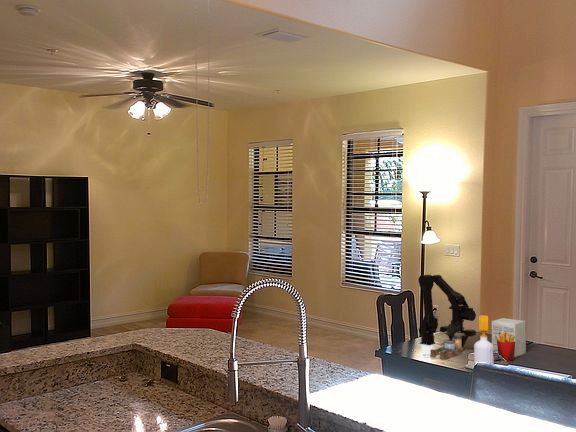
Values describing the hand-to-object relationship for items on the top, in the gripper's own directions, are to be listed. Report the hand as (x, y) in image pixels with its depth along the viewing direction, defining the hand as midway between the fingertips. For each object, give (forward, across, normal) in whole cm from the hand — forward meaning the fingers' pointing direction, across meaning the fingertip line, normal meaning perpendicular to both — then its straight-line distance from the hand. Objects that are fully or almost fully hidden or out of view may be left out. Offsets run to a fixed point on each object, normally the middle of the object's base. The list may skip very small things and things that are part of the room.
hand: (457, 346), depth 316 cm
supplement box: (+3, +22, +14) cm, 27 cm away
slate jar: (+2, 0, -9) cm, 9 cm away
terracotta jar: (+2, 0, 0) cm, 2 cm away
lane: (+2, 0, -13) cm, 13 cm away
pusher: (+2, 0, -15) cm, 16 cm away
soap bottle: (+3, +24, -18) cm, 30 cm away
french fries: (+3, +28, -2) cm, 28 cm away
